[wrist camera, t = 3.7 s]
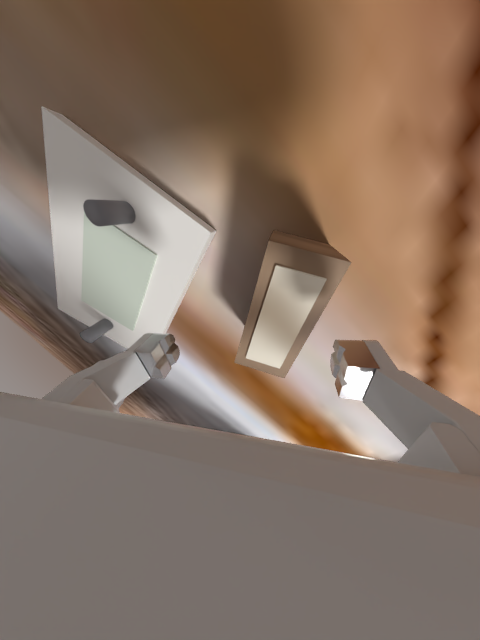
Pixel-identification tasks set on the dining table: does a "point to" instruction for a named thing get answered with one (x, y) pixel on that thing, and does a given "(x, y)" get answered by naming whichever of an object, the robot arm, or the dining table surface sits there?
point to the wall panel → (115, 238)
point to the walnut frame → (288, 300)
